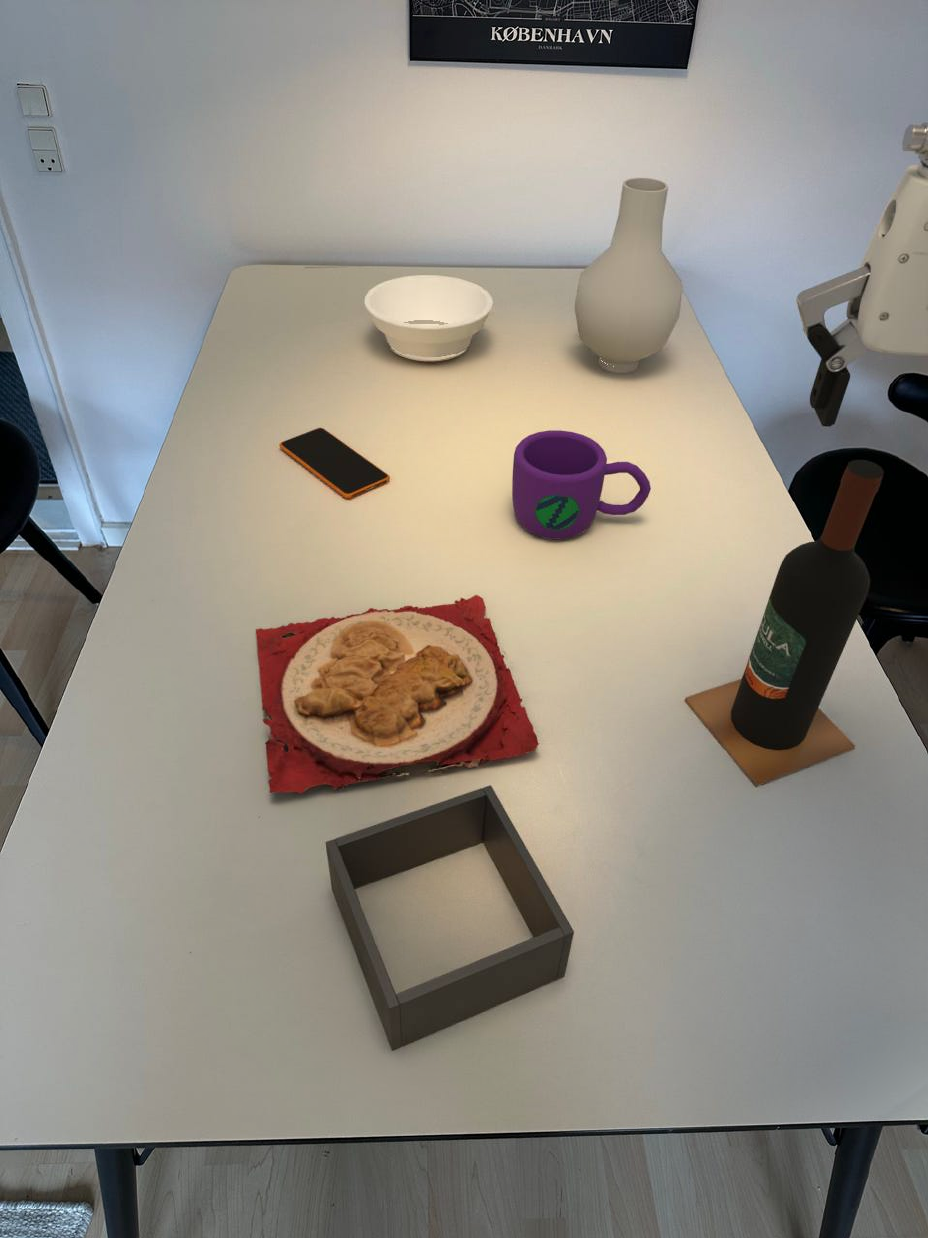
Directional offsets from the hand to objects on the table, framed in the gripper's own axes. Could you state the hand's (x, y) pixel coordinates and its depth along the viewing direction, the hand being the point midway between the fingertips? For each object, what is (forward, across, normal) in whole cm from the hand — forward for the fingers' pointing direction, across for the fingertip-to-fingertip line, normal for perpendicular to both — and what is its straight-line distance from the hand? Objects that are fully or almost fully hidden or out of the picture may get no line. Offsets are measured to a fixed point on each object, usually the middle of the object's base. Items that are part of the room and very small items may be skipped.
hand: (892, 420), depth 62 cm
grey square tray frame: (+38, -29, -20) cm, 52 cm away
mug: (+38, -17, +39) cm, 56 cm away
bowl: (+37, -40, +86) cm, 102 cm away
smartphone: (+37, -50, +49) cm, 79 cm away
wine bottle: (+37, +2, +5) cm, 38 cm away
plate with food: (+38, -37, +7) cm, 53 cm away
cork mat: (+38, +2, +5) cm, 38 cm away
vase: (+37, -8, +84) cm, 92 cm away
